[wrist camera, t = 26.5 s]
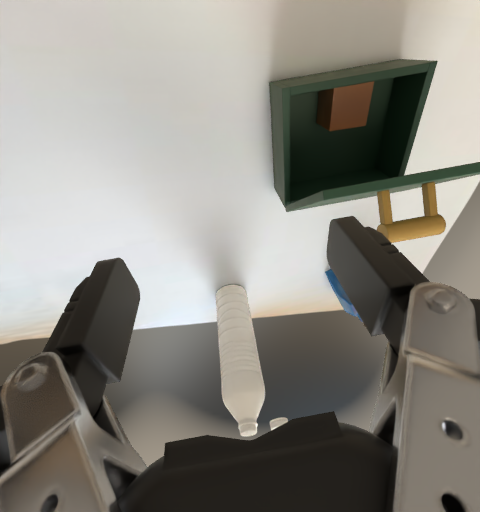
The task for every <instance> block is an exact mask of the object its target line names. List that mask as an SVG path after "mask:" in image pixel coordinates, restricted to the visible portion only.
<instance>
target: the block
mask: <svg viewBox="0 0 480 512" xmlns="http://www.w3.org/2000/svg"><path fill="white" fill-rule="evenodd" d="M373 86H374V81H373V82H367V83H361V84H356V85H350V86H344V87H339V88H333V89H327V90H322V91H319V94H318V107H317V120H316V123H317V124H319V125H320V126H322V127H324V128H325V129H327V130H328V131H335V130H341V129H348V128H354V127H361V126H366V122H367V117H368V112H369V107H370V101H371V96H372V91H373Z"/></svg>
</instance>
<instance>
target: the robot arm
mask: <svg viewBox="0 0 480 512" xmlns="http://www.w3.org/2000/svg"><path fill="white" fill-rule="evenodd" d="M327 259H328V263H329V265H330V267H331V269H332V271H333V272H334V274H335V276H336V277H337V279H338V281H339V282H340V284H341V286H342V288H343V289H344V291H345V293H346V294H347V296H348V298H349V299H350V301H351V303H352V304H353V306H354V308H355V309H356V311H357V313H358V314H359V316H360V318H361V319H362V321H363V323H364V324H365V326H366V328H367V329H368V331H369V333H370V334H371V336H375V335H381V334H385V336H386V337H387V339H388V343H387V347H386V352H385V358H384V364H383V370H382V376H381V382H380V387H379V393H378V398H377V402H376V405H375V408H374V411H373V415H372V419H371V424H370V429H369V432H368V431H366V430H364V429H361V428H359V427H356V426H353V425H349V424H345V423H339V422H338V421H337V418H336V416H335V413H334V411H333V412H328V413H323V414H317V415H312V416H307V417H301V418H296V419H292V420H290V421H288V422H286V423H285V424H283V425H281V426H279V427H277V428H275V429H273V430H271V431H270V432H268V433H266V434H264V435H262V436H260V437H258V438H257V439H254V440H250V441H248V440H240V439H232V438H225V437H217V436H209V435H206V436H200V437H195V438H189V439H184V440H179V441H173V442H168V443H165V453H164V456H163V457H161V458H160V459H158V460H157V461H155V462H154V463H152V464H151V465H150V466H149V467H147V466H146V464H145V463H144V461H143V460H142V458H141V457H140V456H139V454H138V453H137V452H136V451H135V450H134V448H133V447H132V445H131V444H130V442H129V440H128V438H127V437H126V435H125V433H124V431H123V429H122V427H121V425H120V423H119V421H118V419H117V417H116V415H115V413H114V411H113V409H112V407H111V405H110V403H109V401H108V399H107V397H106V396H105V395H104V390H105V387H106V384H110V383H115V382H120V380H121V376H122V372H123V368H124V364H125V359H126V355H127V351H128V347H129V343H130V339H131V334H132V330H133V326H134V322H135V318H136V314H137V310H138V306H139V301H140V292H139V288H138V285H137V283H136V282H135V280H134V278H133V276H132V275H131V273H130V271H129V269H128V268H127V266H126V264H125V262H124V261H123V260H122V259H121V258H114V259H109V260H103V261H99V262H97V263H96V265H95V267H94V269H93V271H92V273H91V275H90V277H86V278H85V279H84V280H83V281H82V282H81V283H80V284H79V285H78V286H77V287H76V289H75V291H74V292H73V294H72V296H71V298H70V300H69V301H70V303H68V304H67V306H66V308H65V310H64V311H65V312H64V313H63V314H62V315H61V317H60V319H59V321H58V323H57V325H56V327H55V329H54V331H53V333H52V335H51V337H50V338H49V341H48V342H47V344H46V346H45V348H44V350H43V352H42V353H40V354H37V355H35V356H32V357H30V358H29V359H27V360H26V361H24V362H23V363H22V364H20V365H19V366H18V367H17V368H16V369H15V370H14V371H13V372H12V373H11V374H10V375H9V377H8V378H7V380H6V381H5V383H4V385H2V386H0V512H480V300H478V299H469V298H468V297H467V296H465V295H464V294H463V293H462V292H460V291H459V290H457V289H455V288H453V287H451V286H448V285H445V284H442V283H436V282H430V281H429V280H428V279H427V278H426V277H425V276H423V274H422V273H421V272H420V271H419V270H418V269H417V268H416V267H415V266H414V265H413V264H412V263H411V262H410V261H409V260H408V259H407V258H406V257H405V256H404V255H403V254H402V253H401V252H399V250H398V249H397V248H396V247H395V246H394V245H393V244H392V245H391V242H390V241H389V240H388V239H387V238H386V237H385V236H384V235H383V234H382V233H380V232H378V231H376V230H375V229H373V228H371V227H363V226H362V224H361V223H360V222H359V221H358V220H357V219H356V218H355V217H354V216H350V217H344V218H339V219H333V220H331V222H330V227H329V235H328V244H327Z"/></svg>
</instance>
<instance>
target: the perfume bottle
mask: <svg viewBox="0 0 480 512" xmlns="http://www.w3.org/2000/svg"><path fill="white" fill-rule="evenodd" d="M325 273H326V275H327V277H328V279H329V282H330V284H331V286H332V288H333V290H334V292H335V294H336V296H337V297H338V299H339V301H340V303H341V305H342V306H343V308H344V310H345V311H346V312H347V313H349V314H351V315H354V316H358V317H359V319H360V320H361V321H362V319H361V318H360V316H359V314H358V313H357V311H356V309H355V308H354V306H353V304H352V303H351V301H350V299H349V298H348V296H347V294H346V293H345V291H344V289H343V288H342V286H341V284H340V282H339V281H338V279H337V277H336V276H335V274H334V272H333V271H332V269H331V270H328V271H326V272H325ZM362 322H363V321H362ZM364 326H365V324H364ZM365 327H366V326H365Z"/></svg>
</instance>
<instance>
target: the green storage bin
mask: <svg viewBox="0 0 480 512" xmlns="http://www.w3.org/2000/svg"><path fill="white" fill-rule="evenodd" d="M436 65H437V61H427V60H407V59H398V60H393V61H387V62H381V63H376V64H370V65H364V66H359V67H353V68H347V69H342V70H336V71H330V72H325V73H319V74H313V75H308V76H302V77H296V78H291V79H285V80H279V81H274V82H270V83H269V85H270V106H271V127H272V148H273V168H274V188H275V190H276V192H277V194H278V196H279V197H280V199H281V201H282V203H283V205H284V207H285V206H287V205H289V204H292V203H294V202H297V201H299V200H301V199H304V198H306V197H308V196H311V195H313V194H316V193H318V192H320V191H323V190H327V189H333V188H338V187H344V186H349V185H355V184H360V183H366V182H371V181H377V180H383V179H388V178H394V177H399V176H404V173H405V170H406V166H407V163H408V160H409V156H410V153H411V149H412V146H413V143H414V139H415V136H416V133H417V129H418V126H419V122H420V119H421V116H422V112H423V109H424V105H425V102H426V99H427V95H428V92H429V88H430V85H431V82H432V78H433V75H434V71H435V68H436ZM373 81H374V86H373V91H372V96H371V101H370V107H369V112H368V117H367V122H366V126H361V127H354V128H348V129H341V130H335V131H328V130H327V129H325V128H324V127H322V126H320V125H319V124H317V123H316V120H317V107H318V94H319V91H322V90H327V89H333V88H339V87H344V86H350V85H356V84H361V83H367V82H373Z"/></svg>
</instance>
